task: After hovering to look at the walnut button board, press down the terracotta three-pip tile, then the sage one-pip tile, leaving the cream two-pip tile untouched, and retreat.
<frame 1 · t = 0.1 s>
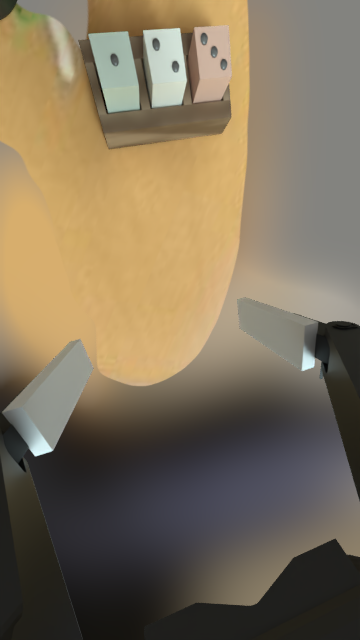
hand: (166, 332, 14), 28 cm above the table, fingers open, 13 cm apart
tile three: (208, 70, 26), point 5 cm above the table, slide at 0.0 cm
tile two: (164, 75, 25), point 5 cm above the table, slide at 0.0 cm
tile one: (117, 79, 25), point 5 cm above the table, slide at 0.0 cm
board: (161, 105, 30), on the table
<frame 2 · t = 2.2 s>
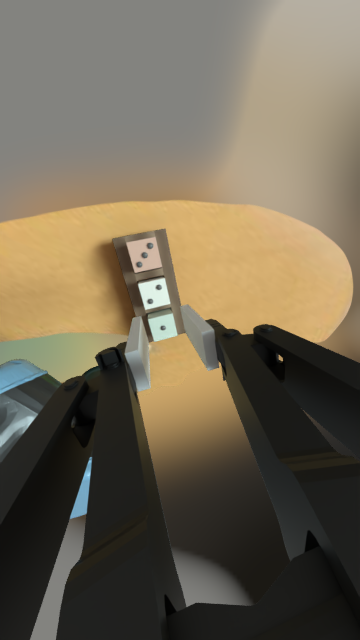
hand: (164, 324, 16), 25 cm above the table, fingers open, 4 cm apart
tile three: (144, 255, 32), point 5 cm above the table, slide at 0.0 cm
tile two: (154, 292, 34), point 5 cm above the table, slide at 0.0 cm
tile one: (162, 323, 36), point 5 cm above the table, slide at 0.0 cm
board: (153, 288, 39), on the table
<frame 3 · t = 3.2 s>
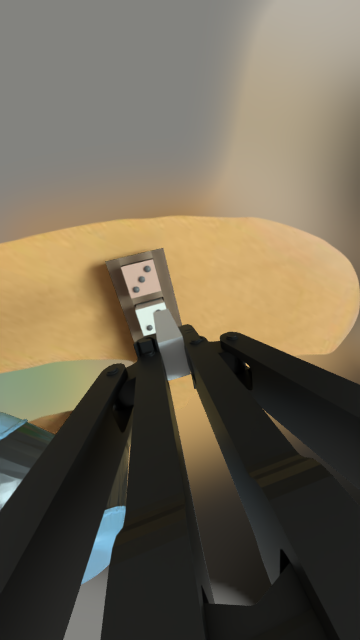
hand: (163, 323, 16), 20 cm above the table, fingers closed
tile three: (141, 278, 29), point 5 cm above the table, slide at 0.0 cm
tile two: (153, 316, 31), point 5 cm above the table, slide at 0.0 cm
board: (151, 309, 36), on the table
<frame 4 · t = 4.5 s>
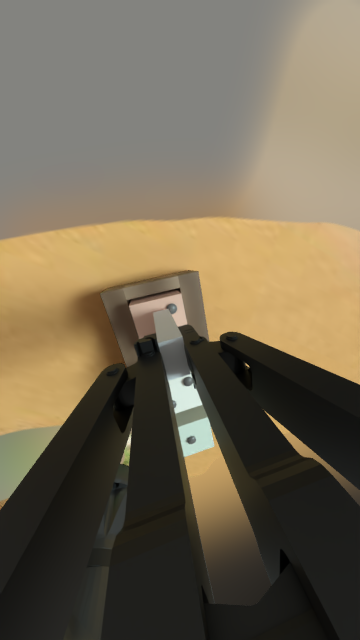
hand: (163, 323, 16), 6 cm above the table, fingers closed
tile three: (159, 317, 19), point 3 cm above the table, slide at 1.9 cm, touching gripper
tile two: (175, 377, 19), point 5 cm above the table, slide at 0.0 cm
tile one: (186, 421, 22), point 5 cm above the table, slide at 0.0 cm
board: (169, 355, 24), on the table
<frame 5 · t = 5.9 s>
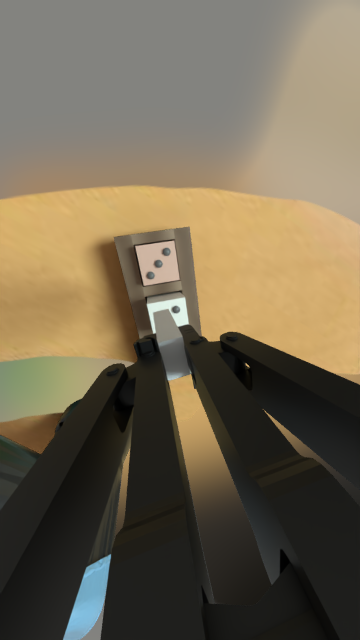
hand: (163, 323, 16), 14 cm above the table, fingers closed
tile three: (157, 263, 25), point 3 cm above the table, slide at 2.4 cm
tile two: (167, 313, 25), point 5 cm above the table, slide at 0.0 cm
board: (164, 304, 30), on the table
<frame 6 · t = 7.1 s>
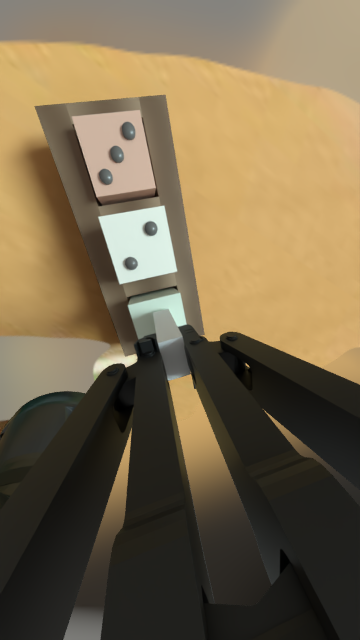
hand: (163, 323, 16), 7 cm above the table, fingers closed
tile three: (121, 170, 16), point 3 cm above the table, slide at 2.4 cm
tile two: (141, 249, 16), point 5 cm above the table, slide at 0.0 cm
tile one: (158, 316, 19), point 5 cm above the table, slide at 0.6 cm, touching gripper
board: (142, 252, 21), on the table
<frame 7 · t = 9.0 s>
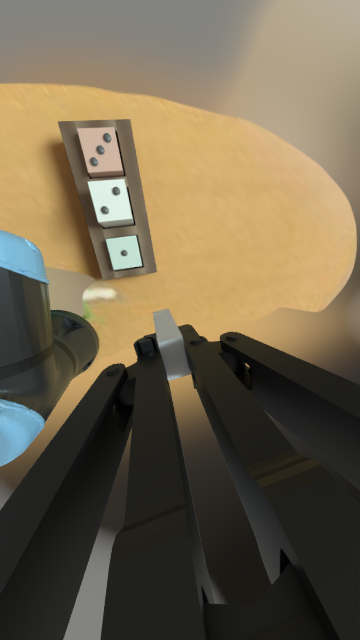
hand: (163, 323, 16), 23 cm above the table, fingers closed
tile three: (104, 159, 27), point 3 cm above the table, slide at 2.4 cm
tile two: (113, 206, 27), point 5 cm above the table, slide at 0.0 cm
tile one: (126, 253, 32), point 3 cm above the table, slide at 2.4 cm
board: (118, 215, 32), on the table
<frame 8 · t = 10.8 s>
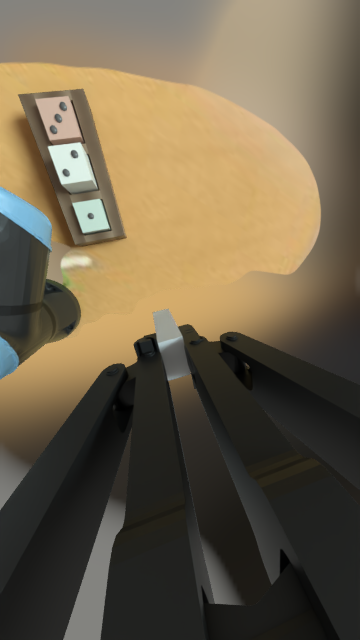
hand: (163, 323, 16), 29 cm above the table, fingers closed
tile three: (65, 129, 30), point 3 cm above the table, slide at 2.4 cm
tile two: (76, 171, 30), point 5 cm above the table, slide at 0.0 cm
tile one: (94, 219, 35), point 3 cm above the table, slide at 2.4 cm
board: (85, 184, 35), on the table
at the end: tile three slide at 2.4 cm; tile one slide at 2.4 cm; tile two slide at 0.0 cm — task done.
